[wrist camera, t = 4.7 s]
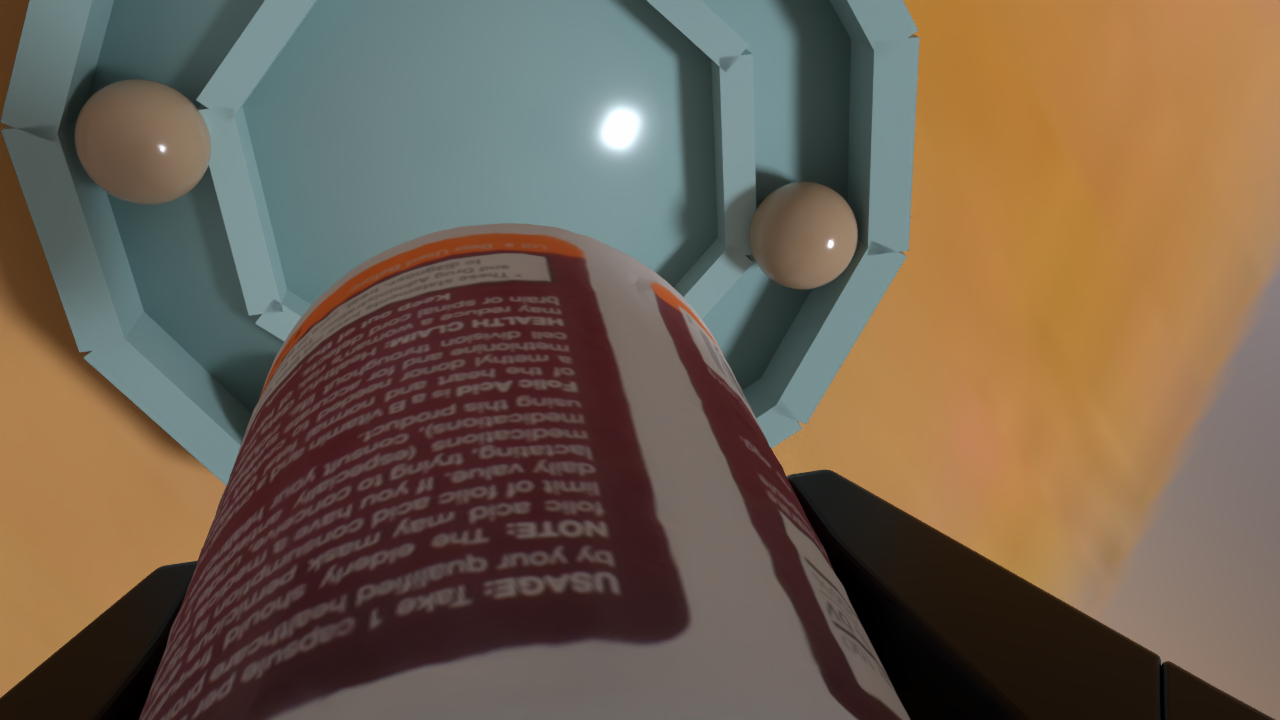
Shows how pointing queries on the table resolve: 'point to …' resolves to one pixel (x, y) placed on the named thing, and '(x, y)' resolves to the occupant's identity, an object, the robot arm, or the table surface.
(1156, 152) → the table surface
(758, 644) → the pill bottle
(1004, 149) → the table surface
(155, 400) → the tray
